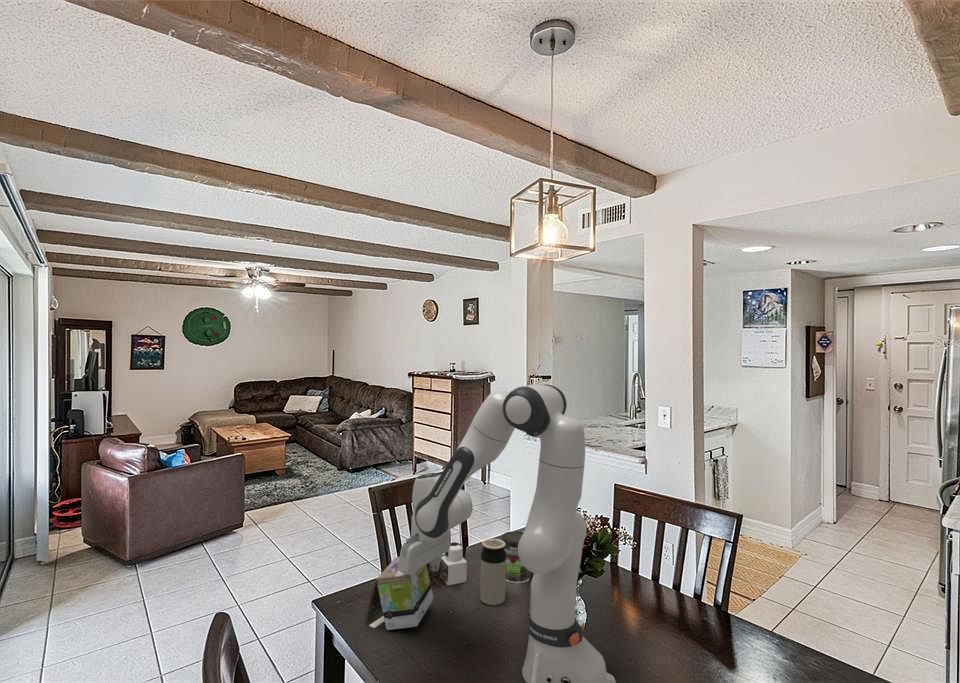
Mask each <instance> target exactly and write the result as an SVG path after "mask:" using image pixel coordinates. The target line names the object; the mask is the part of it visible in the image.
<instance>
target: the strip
mask: <svg viewBox="0 0 960 683" xmlns="http://www.w3.org/2000/svg"><path fill="white" fill-rule="evenodd" d="M383 623H385V620H384V615H383V616H381V617H379V618H378V619H377V620H375V621H374V622H372V623H371V624H369V625H368V626H369V627H370V628H372V629H376V628H377V627H378V626H380V625H381V624H383Z"/></svg>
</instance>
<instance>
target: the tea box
mask: <svg viewBox="0 0 960 683" xmlns="http://www.w3.org/2000/svg"><path fill="white" fill-rule="evenodd" d="M399 559H400V556H397V557H396V556H395V557H394V559H393V560H392V561H391V562H390V563H389V564H388V565H387V566H386V568H385V569H384V570H383V571H382V572H381V573H380V575H378V576H377V578H376V579H375V580H376V586H377V590H378V594H379V596H378V597H379V598H380V599H379V600H380V604H381V610H382V614H383V616H384V620H385V621H384V623H385V624H384V625H385V629H386V631H390V630H391V631H392V630H393V631H394V630H400V629H407V628H409V629H410V628H414V627H418V626H419V623H420V622H421V620H422V618H423V617H424V616H425V614H426V612H427V610H428V609H429V607H430V605H431V604H432V602H433V601H434V595H433V594H434V593H433V589H432V586H431V580H430V576H429V571H428V567H427V564H426V565H425V566H423V567H421V568H420V569H418V570H417V573H416V576H417V577H419V583H418V584H416V585H412V584H411V578H410V576H409V575H408V574H404V573H402V572H400V570H399Z"/></svg>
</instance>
